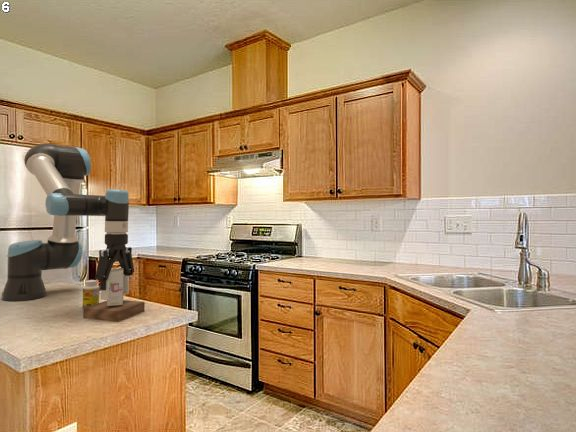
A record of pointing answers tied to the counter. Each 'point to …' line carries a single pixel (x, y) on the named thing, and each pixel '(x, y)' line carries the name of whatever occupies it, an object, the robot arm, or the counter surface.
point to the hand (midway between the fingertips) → (115, 296)
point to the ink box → (115, 287)
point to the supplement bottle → (90, 293)
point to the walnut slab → (113, 311)
